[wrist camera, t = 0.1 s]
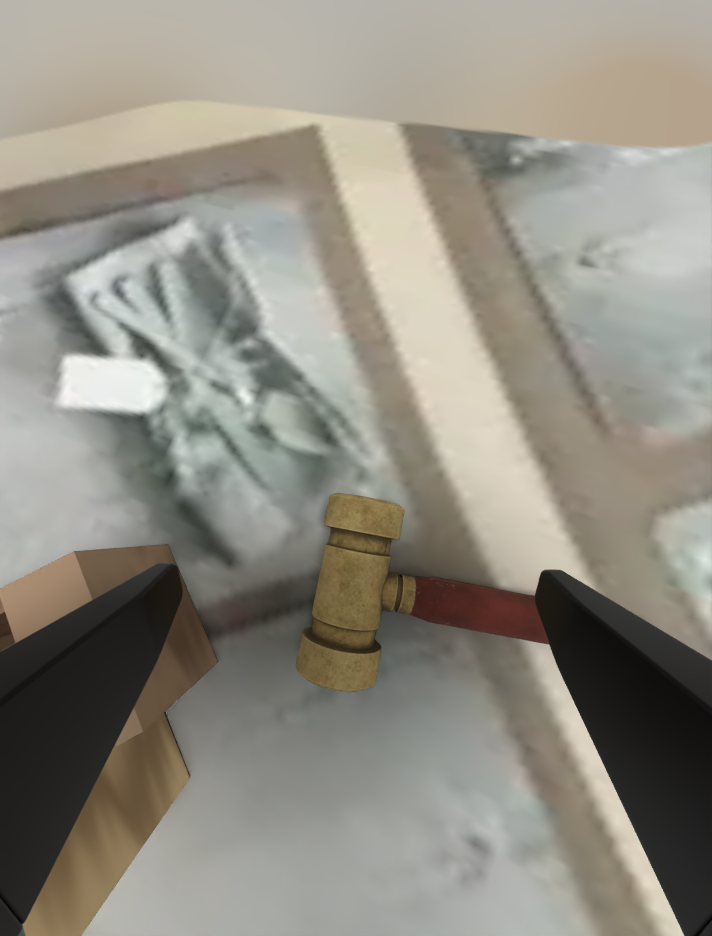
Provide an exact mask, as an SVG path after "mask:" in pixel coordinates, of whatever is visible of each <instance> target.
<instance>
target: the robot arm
mask: <svg viewBox="0 0 712 936" xmlns="http://www.w3.org/2000/svg"><path fill="white" fill-rule="evenodd" d="M182 596H183V587H182V583H181V578H180V574H179V569H178V566H177V565H176V564H175V563H157V564H155V565H154V566H152V567H150V568H148V569H147V570H145V571H143V572H141V573H139V574H138V575H136V576H134V577H132V578H131V579H129V580H127V581H125V582H123V583H122V584H120V585H118V586H116V587H114V588H113V589H111V590H109V591H107V592H106V593H104V594H102V595H100V596H98V597H97V598H95V599H93V600H91V601H89V602H88V603H86V604H84V605H82V606H81V607H79V608H77V609H75V610H73V611H72V612H70V613H68V614H66V615H64V616H63V617H61V618H59V619H57V620H56V621H54V622H52V623H50V624H48V625H47V626H45V627H43V628H41V629H39V630H38V631H36V632H34V633H32V634H31V635H29V636H27V637H25V638H23V639H22V640H20V641H18V642H16V643H14V644H13V645H11V646H9V647H7V648H6V649H4V650H2V651H0V936H19V934H20V932H21V930H22V928H23V925H22V924H23V923H25V921H26V920H27V918H28V916H29V914H30V912H31V910H32V908H33V906H34V904H35V902H36V900H37V898H38V896H39V894H40V892H41V890H42V888H43V886H44V884H45V882H46V880H47V878H48V876H49V874H50V872H51V870H52V868H53V866H54V864H55V862H56V860H57V858H58V856H59V854H60V853H61V851H62V849H63V847H64V845H65V843H66V841H67V839H68V837H69V835H70V833H71V831H72V829H73V827H74V825H75V823H76V821H77V819H78V817H79V815H80V813H81V811H82V809H83V807H84V805H85V803H86V801H87V799H88V797H89V795H90V793H91V791H92V789H93V787H94V785H95V783H96V781H97V780H98V778H99V776H100V774H101V772H102V770H103V768H104V766H105V764H106V762H107V760H108V758H109V756H110V754H111V752H112V750H113V748H114V746H115V744H116V742H117V740H118V738H119V736H120V734H121V732H122V730H123V728H124V726H125V724H126V722H127V720H128V718H129V716H130V714H131V712H132V710H133V709H134V707H135V705H136V703H137V701H138V699H139V697H140V695H141V693H142V691H143V689H144V687H145V685H146V683H147V681H148V679H149V677H150V675H151V673H152V671H153V669H154V667H155V665H156V663H157V661H158V659H159V656H160V654H161V652H162V649H163V647H164V644H165V642H166V639H167V636H168V634H169V631H170V629H171V626H172V623H173V621H174V618H175V616H176V613H177V610H178V608H179V605H180V603H181V600H182ZM535 604H536V608H537V610H538V613H539V616H540V619H541V622H542V625H543V627H544V630H545V633H546V636H547V639H548V642H549V644H550V647H551V650H552V653H553V656H554V658H555V661H556V664H557V666H558V668H559V671H560V673H561V675H562V677H563V679H564V682H565V684H566V686H567V688H568V690H569V692H570V694H571V696H572V699H573V701H574V703H575V705H576V707H577V709H578V711H579V713H580V715H581V718H582V720H583V722H584V724H585V726H586V728H587V730H588V732H589V735H590V737H591V739H592V741H593V743H594V745H595V747H596V749H597V751H598V754H599V756H600V758H601V760H602V762H603V764H604V766H605V768H606V771H607V773H608V775H609V777H610V779H611V781H612V783H613V785H614V788H615V790H616V792H617V794H618V796H619V798H620V800H621V802H622V804H623V807H624V809H625V811H626V813H627V815H628V817H629V819H630V821H631V824H632V826H633V828H634V830H635V832H636V834H637V836H638V838H639V840H640V843H641V845H642V847H643V849H644V851H645V853H646V855H647V857H648V860H649V862H650V864H651V866H652V868H653V870H654V872H655V874H656V876H657V879H658V881H659V883H660V885H661V887H662V889H663V891H664V893H665V896H666V898H667V900H668V902H669V904H670V906H671V908H672V910H673V912H674V915H675V917H676V919H677V921H678V923H679V925H680V927H681V929H682V932H683V934H684V936H712V660H710V659H708V658H707V657H705V656H703V655H702V654H700V653H698V652H697V651H695V650H693V649H692V648H690V647H688V646H687V645H685V644H683V643H682V642H680V641H678V640H677V639H675V638H673V637H672V636H670V635H668V634H667V633H665V632H663V631H662V630H660V629H658V628H657V627H655V626H653V625H652V624H650V623H648V622H647V621H645V620H643V619H642V618H640V617H638V616H637V615H635V614H633V613H632V612H630V611H628V610H627V609H625V608H623V607H622V606H620V605H618V604H617V603H615V602H613V601H612V600H610V599H608V598H607V597H605V596H603V595H602V594H600V593H598V592H597V591H595V590H593V589H592V588H590V587H588V586H587V585H585V584H583V583H582V582H580V581H578V580H577V579H575V578H573V577H572V576H570V575H568V574H567V573H565V572H563V571H561V570H543V571H542V572H541V575H540V578H539V582H538V586H537V590H536V594H535Z"/></svg>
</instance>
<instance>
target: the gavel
mask: <svg viewBox="0 0 712 936" xmlns="http://www.w3.org/2000/svg"><path fill="white" fill-rule="evenodd" d="M403 516H404V509H403V508H402V507H401V506H400V505H397V504H394V503H391V502H387V501H383V500H378V499H373V498H368V497H363V496H357V495H350V494H341V493H336V494H333V495H331V496H330V498H329V503H328V508H327V513H326V518H325V523H324V525H326V526H328V527H331V533H330V538H329V543H328V544H325V549H324V555H323V560H322V565H321V570H320V575H319V580H318V585H317V590H316V595H315V600H314V605H313V610H312V615H313V616H314V619H313V624H312V627H308V628H306V629H304V630H303V632H302V637H301V642H300V647H299V652H298V657H297V662H296V668H297V670H298V671H299V672H300V674H301V675H302V676H303V677H305V678H306V679H307V680H309V681H310V682H312V683H314V684H316V685H319V686H321V687H324V688H328V689H332V690H337V691H347V692H353V691H361V690H364V689H367V688H369V687H371V686H373V685H374V684H375V682H376V677H377V671H378V665H379V659H380V653H381V645H380V644H379V643H378V642H377V641H376V640H375V639H374V638H375V632H376V629H378V628H379V625H380V619H381V613H382V610H385V611H392V610H393V609H395V611H396V612H399V613H404V614H409V615H412V616H414V617H417V618H420V619H422V620H425V621H428V622H432V623H437V624H442V625H448V626H453V627H458V628H464V629H469V630H474V631H480V632H485V633H490V634H496V635H501V636H506V637H512V638H517V639H522V640H528V641H533V642H539V643H544V644H549V642H548V639H547V636H546V633H545V630H544V627H543V625H542V622H541V619H540V616H539V613H538V610H537V608H536V604H535V596H530V595H525V594H520V593H514V592H509V591H504V590H499V589H493V588H488V587H483V586H478V585H472V584H467V583H462V582H457V581H451V580H446V579H441V578H435V577H411V576H406V575H400V577H398V575H397V573H392V572H389V566H390V561H391V556H389V550H390V544H391V539H400V533H401V527H402V522H403ZM549 645H550V644H549Z"/></svg>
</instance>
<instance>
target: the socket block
mask: <svg viewBox="0 0 712 936" xmlns="http://www.w3.org/2000/svg"><path fill="white" fill-rule="evenodd" d="M157 563H175V564H176V562H175V560H174V558H173V555H172V553H171V551H170V548H169V546H168V544H166V545H153V546H140V547H126V548H113V549H99V550H86V551H74V552H72V553H70V554H68V555H66V556H64V557H62V558H60V559H58V560H56V561H54V562H52V563H50V564H48V565H46V566H44V567H42V568H40V569H38V570H36V571H34V572H32V573H30V574H28V575H26V576H24V577H22V578H20V579H18V580H16V581H14V582H12V583H10V584H8V585H6V586H4V587H2V588H0V651H2V650H4V649H6V648H7V647H9V646H11V645H13V644H14V643H16V642H18V641H20V640H22V639H23V638H25V637H27V636H29V635H31V634H32V633H34V632H36V631H38V630H39V629H41V628H43V627H45V626H47V625H48V624H50V623H52V622H54V621H56V620H57V619H59V618H61V617H63V616H64V615H66V614H68V613H70V612H72V611H73V610H75V609H77V608H79V607H81V606H82V605H84V604H86V603H88V602H89V601H91V600H93V599H95V598H97V597H98V596H100V595H102V594H104V593H106V592H107V591H109V590H111V589H113V588H114V587H116V586H118V585H120V584H122V583H123V582H125V581H127V580H129V579H131V578H132V577H134V576H136V575H138V574H139V573H141V572H143V571H145V570H147V569H148V568H150V567H152V566H154V565H155V564H157ZM179 574H180V572H179ZM180 578H181V583H182V587H183V596H182V600H181V603H180V605H179V608H178V610H177V613H176V616H175V618H174V621H173V623H172V626H171V629H170V631H169V634H168V636H167V639H166V642H165V644H164V647H163V649H162V652H161V654H160V656H159V659H158V661H157V663H156V665H155V667H154V669H153V671H152V673H151V675H150V677H149V679H148V681H147V683H146V685H145V687H144V689H143V691H142V693H141V695H140V697H139V699H138V701H137V703H136V705H135V707H134V709H133V710H132V712H131V714H130V716H129V718H128V720H127V722H126V724H125V726H124V728H123V730H122V732H121V734H120V736H119V738H118V740H117V742H116V744H115V746H114V747H116V746H118V745H120V744H121V743H123V742H125V741H127V740H129V739H131V738H132V737H134V736H136V735H138V734H140V733H142V732H143V731H144V730H145V729H146V728H148V727H149V726H150V725H151V724H152V723H153V722H154V721H155V720H156V719H157V718H158V717H159V716H160V715H162V714H163V713H164V712H165V711H166V710H167V709H168V708H169V707H170V706H171V705H172V704H173V703H174V702H176V701H177V700H178V699H179V698H180V697H181V696H182V695H183V694H184V693H185V692H186V691H187V690H188V689H189V688H191V687H192V686H193V685H194V684H195V683H196V682H197V681H198V680H199V679H200V678H201V677H202V676H203V675H205V674H206V673H207V672H208V671H209V670H210V669H211V668H212V667H213V666H214V665H215V664H216V663H217V662H218V661H217V659H216V656H215V654H214V651H213V649H212V647H211V644H210V642H209V640H208V637H207V635H206V633H205V630H204V628H203V626H202V623H201V621H200V619H199V616H198V614H197V612H196V609H195V607H194V605H193V602H192V600H191V598H190V595H189V593H188V590H187V588H186V586H185V583H184V581H183V579H182V576H181V574H180Z"/></svg>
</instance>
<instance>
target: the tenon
mask: <svg viewBox="0 0 712 936" xmlns="http://www.w3.org/2000/svg"><path fill="white" fill-rule="evenodd" d="M189 778H190V777H189V775H188V772H187V770H186V767H185V764H184V762H183V759H182V757H181V754H180V752H179V749H178V747H177V744H176V742H175V739H174V737H173V734H172V732H171V729H170V726H169V724H168V721H167V719H166V716H165V714H164V713H163V714H162V715H160V716H159V717H158V718H157V719H156V720H155V721H154V722H153V723H152V724H151V725H150V726H149V727H148V728H146V729H145V730H144V731H143V732H142V733H140V734H138V735H136V736H134V737H132V738H131V739H129V740H127V741H125V742H123V743H121V744H120V745H118V746H116V747H114V748H113V750H112V752H111V754H110V756H109V758H108V760H107V762H106V764H105V766H104V768H103V770H102V772H101V774H100V776H99V778H98V780H97V781H96V783H95V785H94V787H93V789H92V791H91V793H90V795H89V797H88V799H87V801H86V803H85V805H84V807H83V809H82V811H81V813H80V815H79V817H78V819H77V821H76V823H75V825H74V827H73V829H72V831H71V833H70V835H69V837H68V839H67V841H66V843H65V845H64V847H63V849H62V851H61V853H60V854H59V856H58V858H57V860H56V862H55V864H54V866H53V868H52V870H51V872H50V874H49V876H48V878H47V880H46V882H45V884H44V886H43V888H42V890H41V892H40V894H39V896H38V898H37V900H36V902H35V904H34V906H33V908H32V910H31V912H30V914H29V916H28V918H27V920H26V921H25V923H23V924H22V925H23V928H22V930H21V932H20V934H19V936H81V935H82V934H83V932H84V931H85V929H86V928H87V927H88V925H89V924H90V922H91V921H92V919H93V918H94V916H95V915H96V913H97V912H98V910H99V909H100V908H101V906H102V905H103V903H104V902H105V900H106V899H107V897H108V896H109V894H110V893H111V892H112V890H113V889H114V887H115V886H116V884H117V883H118V881H119V880H120V878H121V877H122V876H123V874H124V873H125V871H126V870H127V868H128V867H129V865H130V864H131V862H132V861H133V860H134V858H135V857H136V855H137V854H138V852H139V851H140V849H141V848H142V846H143V845H144V844H145V842H146V841H147V839H148V838H149V836H150V835H151V833H152V832H153V830H154V829H155V828H156V826H157V825H158V823H159V822H160V820H161V819H162V817H163V816H164V814H165V813H166V811H167V810H168V809H169V807H170V806H171V804H172V803H173V801H174V800H175V798H176V797H177V795H178V794H179V793H180V791H181V790H182V788H183V787H184V785H185V784H186V782H187V781H188V779H189Z"/></svg>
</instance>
